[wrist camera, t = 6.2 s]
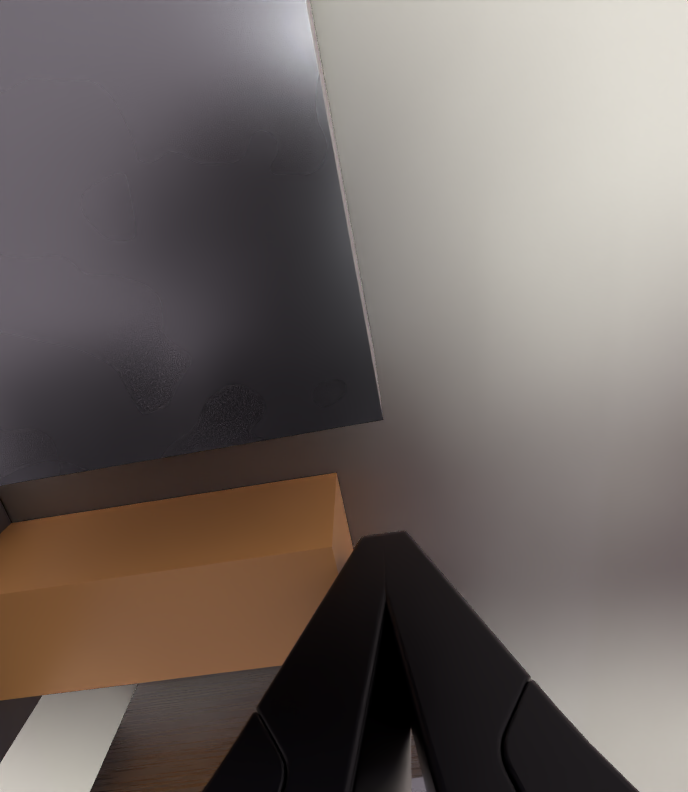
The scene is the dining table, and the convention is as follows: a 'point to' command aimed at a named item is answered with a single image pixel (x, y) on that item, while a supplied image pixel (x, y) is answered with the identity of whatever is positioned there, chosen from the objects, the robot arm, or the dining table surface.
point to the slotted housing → (172, 278)
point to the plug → (163, 589)
